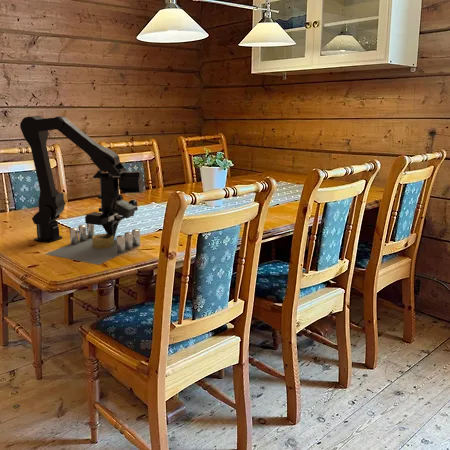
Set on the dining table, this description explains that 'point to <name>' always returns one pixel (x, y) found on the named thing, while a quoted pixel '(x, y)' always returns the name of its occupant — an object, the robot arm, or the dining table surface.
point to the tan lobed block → (102, 241)
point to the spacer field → (122, 241)
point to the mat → (87, 252)
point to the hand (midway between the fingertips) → (112, 239)
